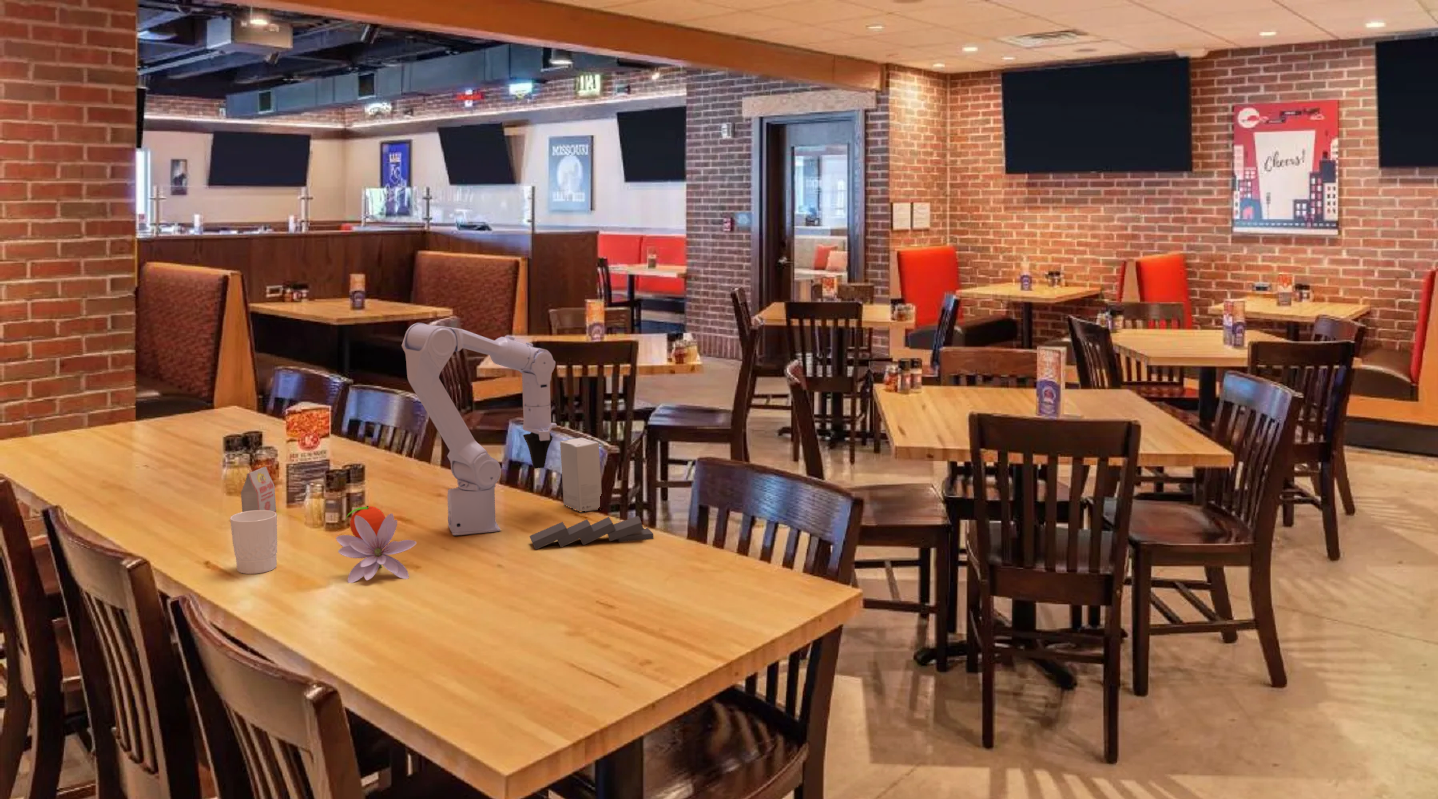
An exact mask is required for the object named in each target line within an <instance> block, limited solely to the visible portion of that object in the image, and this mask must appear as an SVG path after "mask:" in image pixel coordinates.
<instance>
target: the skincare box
mask: <svg viewBox="0 0 1438 799" xmlns="http://www.w3.org/2000/svg"><path fill="white" fill-rule="evenodd" d="M599 444H600V443H599V442H597V441H594V440H590V439H587V438H584V437H578V438H573V439H567V440H566V439H565V440H561V441H559V445H560V446H559V447H560V463H561V465H560V466H561V480H562V495H563V496H562V500H563V506H564V505H567V506H569V507H571V508H573V509H572V510H574V509H576V510H578V511H585V512H590V511H591V512H592V511H598V508H599V507H600V496H601V494H603V493H602V476H601V474H602V473H601V461H600V460H601V457H600V445H599ZM567 506H566V507H567ZM569 507H568V508H569ZM571 508H570V509H571ZM576 510H575V511H576ZM578 511H577V512H578Z"/></svg>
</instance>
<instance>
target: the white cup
mask: <svg viewBox="0 0 1438 799" xmlns="http://www.w3.org/2000/svg"><path fill="white" fill-rule="evenodd" d="M277 518H278V515H277V511H276V512H274V511H269V510H253V511H245V512H242V511H240V512H237V513H234V514H233V515H231V516H230V517H229V520H230V521H229V522H230V527H231V536H232V544H233V545H232V546H233V551H234V552H233V553H234V557H235V563H236V564H235V565H236V570H237V572H239V573H241V574H247V575H250V574H251V575H254V574H255V575H256V574H263V573H267V572H270V571H272V570H274V569H276V568H277V566H278V565H277V562H278V561H277V553H278V524H277V522H278V520H277Z"/></svg>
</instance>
